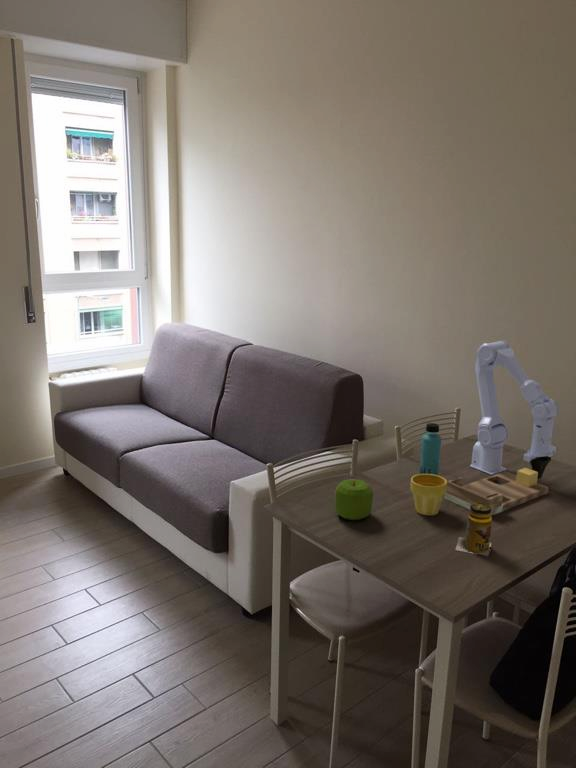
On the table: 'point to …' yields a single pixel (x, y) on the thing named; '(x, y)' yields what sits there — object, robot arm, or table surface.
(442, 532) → the table surface
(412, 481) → the plant pot
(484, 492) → the trap board
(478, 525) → the condiment
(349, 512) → the apple
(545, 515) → the table surface
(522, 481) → the mustard block
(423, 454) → the beverage bottle
